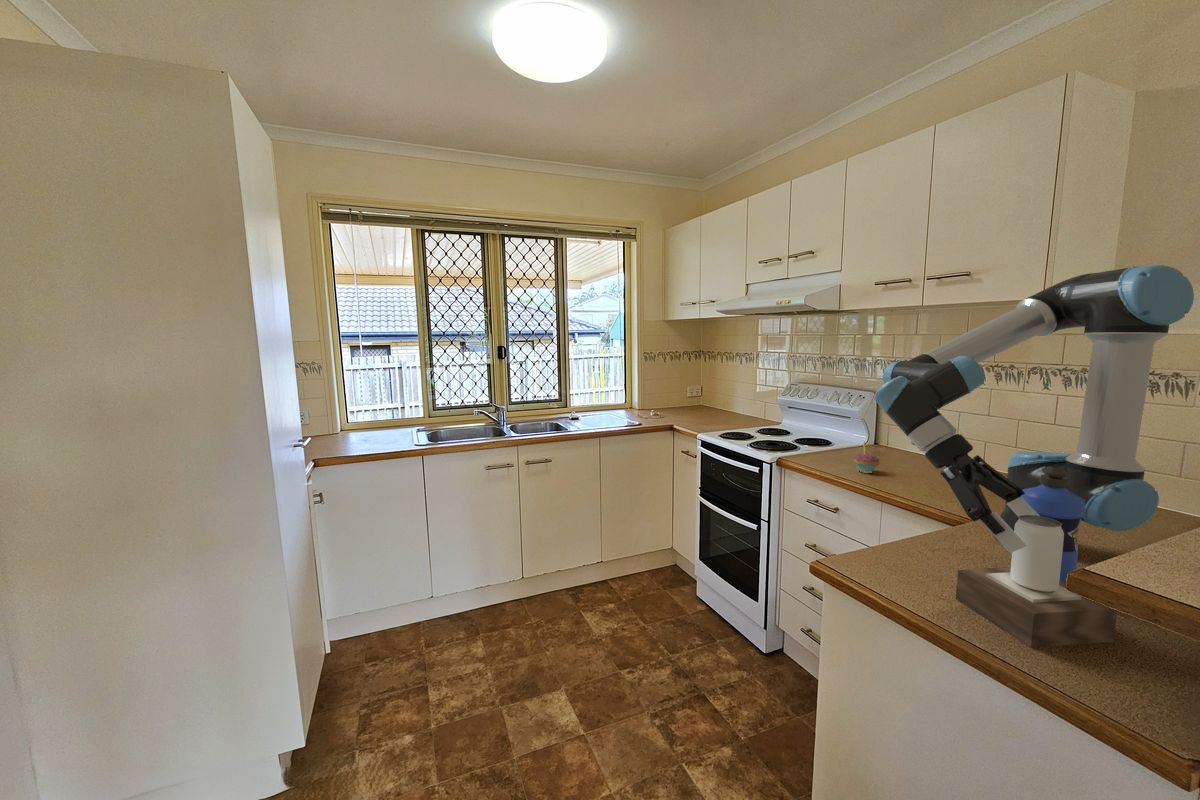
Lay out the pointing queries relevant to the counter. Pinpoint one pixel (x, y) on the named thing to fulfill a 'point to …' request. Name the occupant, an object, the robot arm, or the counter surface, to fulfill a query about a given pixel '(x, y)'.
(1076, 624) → the riser
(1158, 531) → the counter surface
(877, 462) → the cupcake
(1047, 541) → the can
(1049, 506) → the water bottle
